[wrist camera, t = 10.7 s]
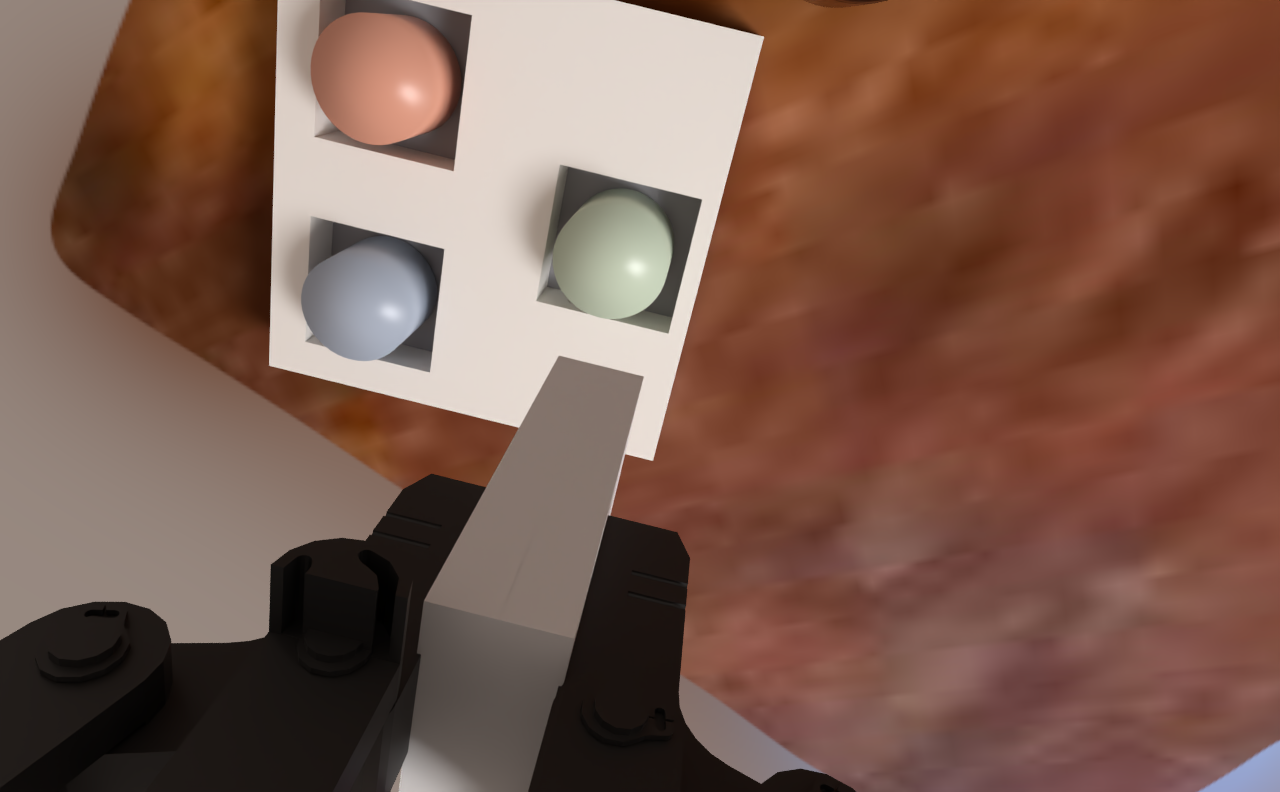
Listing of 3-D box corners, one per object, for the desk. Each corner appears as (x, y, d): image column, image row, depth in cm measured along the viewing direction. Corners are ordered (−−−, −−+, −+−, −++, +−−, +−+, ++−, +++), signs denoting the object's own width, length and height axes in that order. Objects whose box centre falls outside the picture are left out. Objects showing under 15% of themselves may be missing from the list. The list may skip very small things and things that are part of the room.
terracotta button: (357, 2, 35) (313, -2, 31) (468, 30, 35) (437, 29, 31) (349, 120, 37) (308, 129, 33) (454, 146, 37) (423, 157, 33)
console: (319, -72, 35) (279, -82, 32) (761, 36, 35) (764, 36, 32) (302, 342, 44) (269, 365, 41) (658, 430, 44) (652, 460, 40)
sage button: (580, 176, 37) (563, 192, 33) (685, 202, 37) (680, 220, 33) (561, 279, 39) (543, 303, 35) (660, 303, 39) (653, 330, 35)
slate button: (343, 225, 39) (303, 244, 36) (442, 249, 39) (412, 271, 36) (337, 319, 41) (298, 346, 38) (431, 342, 41) (402, 372, 38)
